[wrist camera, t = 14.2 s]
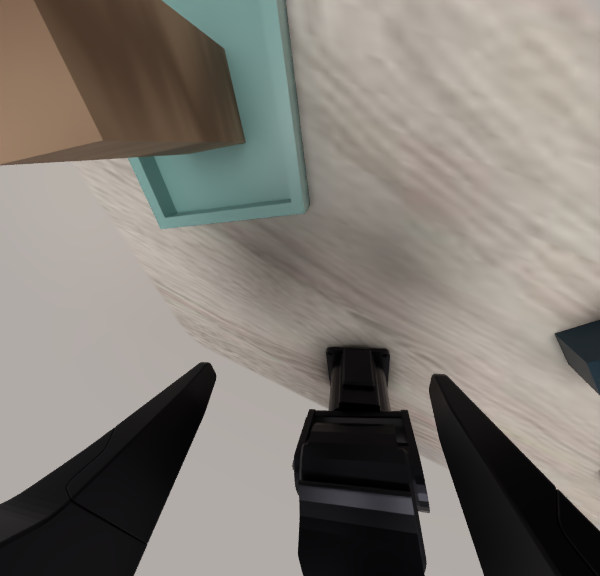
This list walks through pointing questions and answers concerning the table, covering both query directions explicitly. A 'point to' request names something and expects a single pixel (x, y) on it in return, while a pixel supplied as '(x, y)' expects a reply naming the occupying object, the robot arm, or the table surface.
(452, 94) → the table surface
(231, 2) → the tray
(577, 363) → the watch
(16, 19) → the tall brown wood pillar
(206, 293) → the table surface
